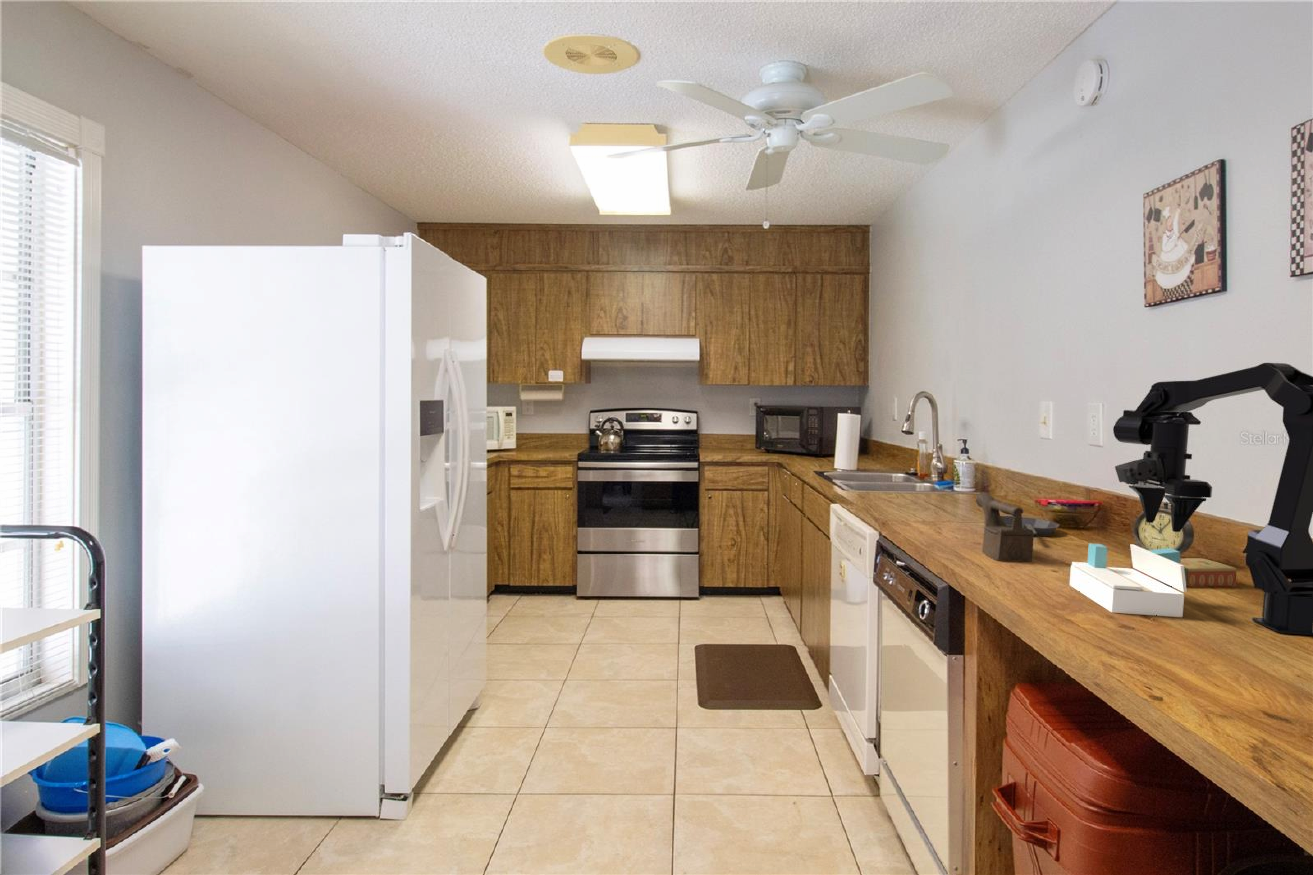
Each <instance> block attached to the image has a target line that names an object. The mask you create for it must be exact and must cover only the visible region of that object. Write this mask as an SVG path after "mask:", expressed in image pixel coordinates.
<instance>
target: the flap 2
mask: <svg viewBox="0 0 1313 875" xmlns="http://www.w3.org/2000/svg"><path fill="white" fill-rule="evenodd" d="M1129 546H1130V547H1129V548H1130V555H1131V561H1132V564H1133V568H1135V569H1137V570H1139V571H1141V572H1143V573H1145V574H1147V575H1149V576H1152V577H1154V578H1156V579H1158V580H1160V581H1162V582H1164V583H1166V584H1168V585H1170V586H1169V587H1171V586H1172V587H1171V588H1173V589H1175V590H1176V589H1177V591H1179V592H1181V593H1187V592H1188V590H1187V587H1186V580H1185V572H1184V566H1183V565H1181V564H1178V563H1181V560H1180V558H1181V554H1180V552H1179V551H1176V550H1174V549H1171V548H1165V549H1156V550H1145V549H1143V548H1141V547H1140V546H1139V545H1135V544H1133V543H1132V544H1131V543H1130V545H1129Z"/></svg>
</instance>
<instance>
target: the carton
mask: <svg viewBox="0 0 1313 875" xmlns="http://www.w3.org/2000/svg"><path fill="white" fill-rule="evenodd" d="M1180 560H1181V563H1178V564H1181V565H1183V566H1184V572H1185V580H1186V586H1231V587H1232V588H1235V587H1237V568H1236V567H1233V566H1230V565H1228V564H1224V563H1220V562H1217V561H1213V560H1210V559H1207V558H1202V557H1201V558H1200V557H1196V558H1195V557H1193V558H1191V557H1187V558H1183V557H1180ZM1129 569H1134V570H1136V571H1138V572H1140V573H1142V574H1144V575H1146V576H1148V577H1150V578H1152V579H1154V580H1156V581H1158V582H1160V583H1163V584H1165V585H1167V586H1169V587H1171V586H1170V585H1168V584H1166V583H1164V582H1162V581H1160V580H1158V579H1156V578H1154V577H1152V576H1149V575H1147V574H1145V573H1143V572H1141V571H1139V570H1137V569H1135V568H1133V564H1132V560H1131V562H1130V568H1129ZM1231 587H1230V588H1231Z"/></svg>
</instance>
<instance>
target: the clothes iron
mask: <svg viewBox="0 0 1313 875" xmlns="http://www.w3.org/2000/svg"><path fill="white" fill-rule="evenodd" d="M975 503H976V504H977V506H978V507H979V508H982V510H983V513H984V527H983V528H984V530H983V541H982V550H981V552H982V554H984V555H985V556H986V557H988V558H990V559H992V560H994V561H998V562H1033V553H1034V552H1033V551H1034V537H1035V536H1034V533H1033V530H1030V529H1022V517H1023V513H1024V510H1023V509H1022V508H1021V507H1018V506H1013V505H1012V504H1010V503H1006V502H1002V501H1000V500H998V499H995V498H994V497H993V496H992V495H991V494H990V493H989V492H988V491H982V492H979V493H978V494H977V495H976V497H975ZM1000 512H1001V513H1002V514H1006V515H1008V516H1014V518H1013V524H1012V527H1009V526H1007V525H1006V524H1005V523H1004V522H1003V521H1002V519H1001V516H1002V515H1001V514H1000Z"/></svg>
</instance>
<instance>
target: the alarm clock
mask: <svg viewBox="0 0 1313 875" xmlns="http://www.w3.org/2000/svg"><path fill="white" fill-rule="evenodd" d="M1161 504H1163V506H1162V508H1161V507H1160V508H1159V511H1158V513H1157V515H1156V518H1155V520H1154V522H1153V523H1148V522H1146V519H1145V515H1144V511H1143V512H1142V513H1140V514H1139V515H1138V517H1137V518H1136V519H1135V522H1134V524H1133V536H1134V539H1135V542H1136V544H1137V546H1138V547H1141V548H1143V549H1145V550H1156V549H1165V548H1171V549H1174V550H1176V551H1179V552H1180V555H1182V554H1185V553H1186V552H1187V551H1188V550H1189V549H1190V548H1191V547H1192V545H1193V543H1194V538H1195V529H1194V527H1193V525H1192V523H1191V521H1190V519H1189V520H1188V521H1187V522H1186V524H1185V525H1184V527H1183V528H1182V529H1181V531H1180V532H1174V531H1172V522H1171V508H1169V505H1171V504H1170V503H1169V501H1162V503H1161Z"/></svg>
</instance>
